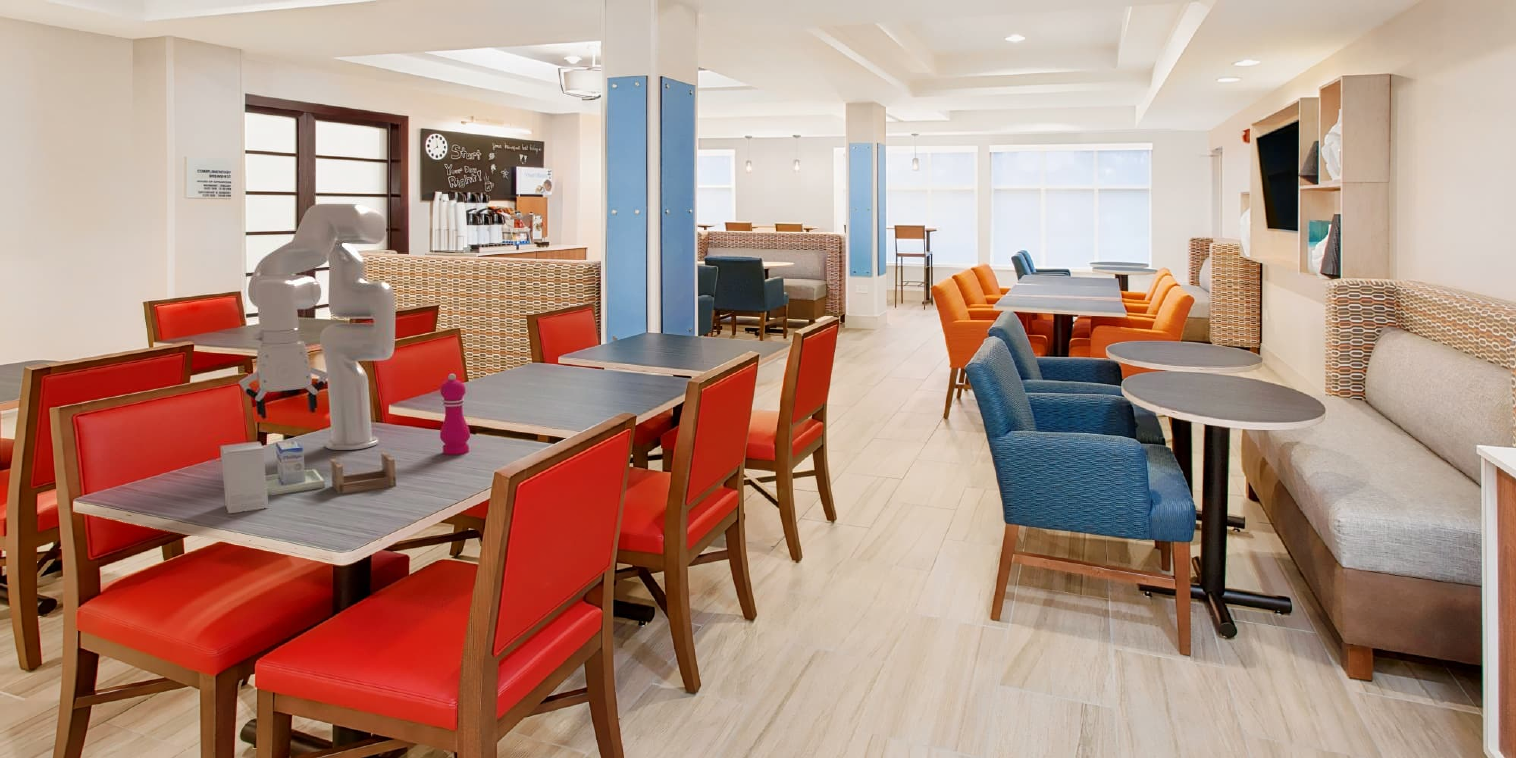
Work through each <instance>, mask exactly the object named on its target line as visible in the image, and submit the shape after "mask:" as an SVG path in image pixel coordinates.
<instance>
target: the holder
mask: <svg viewBox="0 0 1516 758" xmlns="http://www.w3.org/2000/svg"><path fill="white" fill-rule="evenodd" d="M380 455H381V456H380V457H381V470H372V471H365V472H359V473H352V474H345V475H344V468H343V467H344V466H343V465H342V464H341V463H340V462H339V461H338V460H337V459H336V458H331V459H330V460H329V461H330V471H331V484H332V487H333V489H335V491H336V492H337V493H338V494H339V495H343V494H349V493H357V492H363V491H369V490H370V489H371V490H376V489H383V488H390V487H396V486H397V483H396V482H397V481H396V480H397V479H396V466H395V463H396V462H395V458H394V457H393V456H391V455H390V454H389V453H387V451H385V452H384V451H383V452H381V454H380Z"/></svg>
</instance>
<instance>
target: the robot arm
mask: <svg viewBox="0 0 1516 758" xmlns="http://www.w3.org/2000/svg"><path fill="white" fill-rule="evenodd" d="M386 234H387V225H386V221H385V218H384V216H383V215H382V213H380V212H379V211H378V210H377V209H373V208H370V207H367V206H364V205H361V204H356V203H317V204H316V203H315V204H314V205H312V206H310V207H308V209H307V210H306V211H305V213H304V214H303V217H302V219H301V221H300V223H299V225H298V227H297V230H296V232H295V234H294V236H293V238H292V240H291V241H289V242H288V243H286V244H283V245H282V246H279V248H277V249H275V250H273V251H271V252H270V253H269V254H267V255H266V256H264V257H263V258H262V259H261V260H260V261H259V262H258V263H257V265H256V267H255V269H254V271H253V273H252V275H251V277H250V280H249V283H248V286H247V287H248V288H247V294H248V295H247V296H248V298H249V300H250V303H251V305H253V306H255V307H256V308H257V316H258V324H259V325H258V326H259V331H258V332H256V333H252V339H253V341H259V342H260V343H259V344H257V353H256V370H257V371H254V372H253V373H251V374H249V375H248V376H246V377H244V378H242V379H241V380H239V381H238V384H239V385H240V387H241V388H242V389H243V390H244V392H245V393H246V394H247V396H249V397H251V398H252V399H254V400H255V405H256V414H257V415H260V417H261V419H262V420H266V419H267V412H266V402H265V400H264V397H265V395H266V394H267V393H271V392H272V393H273V392H283V391H293V390H300V389H301V390H302V389H306V390H307V391H308V392H307V402H308V403H307V405H308V410H309V412H310V413H312V414H315V413H316V410H315V409H317V408H318V400H317V394H319V392H320V390H321V389H322V388H323V387H324V386H325V384H326V381H327V392H328V404H329V419H330V430H331V431H330V432H331V439H328V440H327V441H326V442H325V448H327V449H329V450H334V451H353V450H354V451H355V450H361V449H366V448H371V447H375V446H376V445H378V444H379V438H378V437H377V436H375V435H373V433H372V419H371V403H370V389H369V378H368V374H367V372H366V371H365V369H364V368H363V367H362V366H361V364H360V363H359V362H363V361H366V362H368V361H370V362H371V361H373V362H375V361H376V362H377V361H386V360H389V359H390V358H392V357H393V354H394V353H395V346H396V345H395V344H396V312H397V311H396V298H395V293H394V289H393V288H392V285H390V284H389V283H387V282H385V281H379V280H377V281H376V280H374V281H373V280H372V281H371V280H370V281H369V280H368V281H366V263H365V260H364V258H363V257H362V256H361V254H360V253H359V251H357V249H356V248H355V247H354V246H353V245H378V244H380V243H381V242H382V241H383V240H384V239H385V236H386ZM327 262H328V270H329V271H328V309H329V312H330V314H331V315H332V316H334V317H335V318H339V319H372V320H373V323H372V322H370V323H366V322H365V323H363V322H362V323H359V322H351V323H350V322H348V323H347V322H346V323H345V322H344V323H343V322H341V323H340V322H339V323H334V324H330V325H327V326H326V327H325V328H324V329H323V330H321V333H320V337H319V338H320V339H319V341H320V348H321V352H322V355H323V359H324V364H325V369H326V371H325V370H321V369H318V368H316V367H312V366H311V365H310V359H309V354H308V348H307V347H306V346H307V345H306V343H305V341H302V340H301V335H300V324H299V314H298V313H299V312H298V310H309V309H312V308H313V307H315V306H316V305H317V304H318V303H319V301H320V300H321V297H322V289H321V285H320V282H318V280H317V279H315V277H313V276H310V275H304V274H300V273H303V272H308V271H310V270H313V269H316V268H319V267H321V266H323V265H325V264H326V263H327ZM312 375H314V376H318V380H317V381H316V382H315V383H314V385H312V384H313V379H312ZM256 380H257V383H258V384H257V385H258V387H259V388H257V390H256V391H255V390H253V389H252V388H251V387H250V384H251V383H253V382H255V381H256Z"/></svg>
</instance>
